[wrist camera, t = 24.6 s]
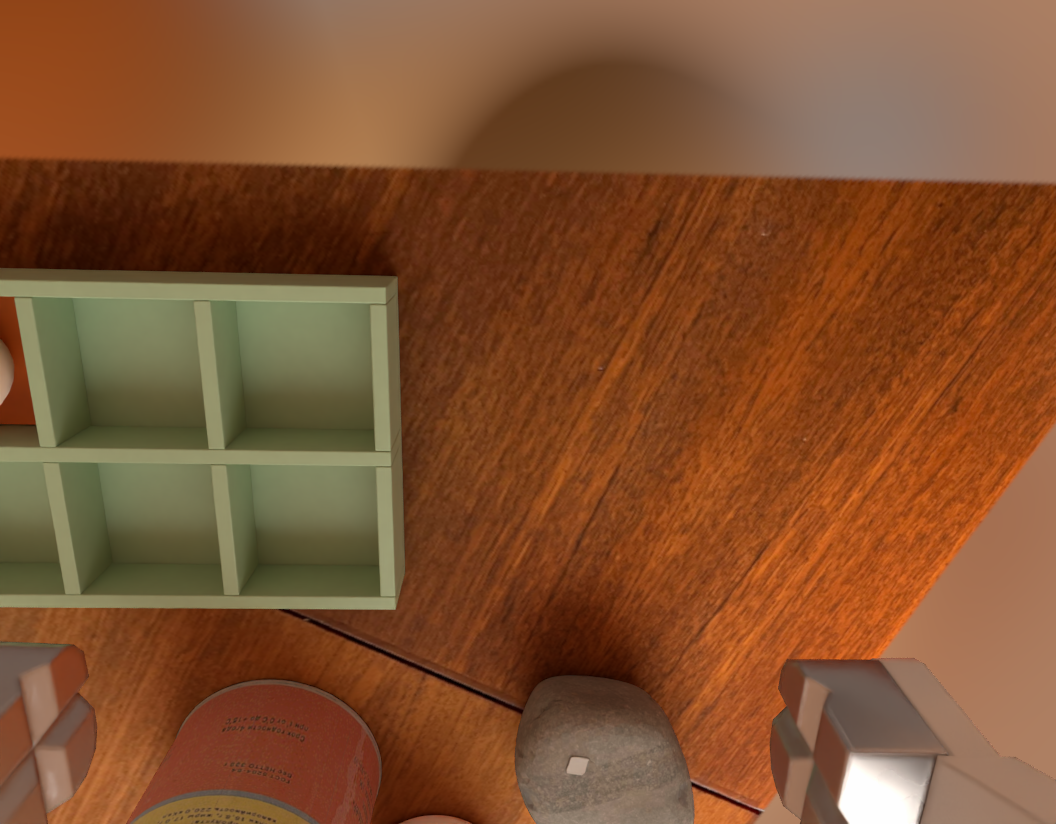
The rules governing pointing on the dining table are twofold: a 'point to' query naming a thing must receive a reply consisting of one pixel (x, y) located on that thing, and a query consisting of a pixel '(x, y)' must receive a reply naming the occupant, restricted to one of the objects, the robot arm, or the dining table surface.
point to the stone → (600, 756)
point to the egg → (5, 371)
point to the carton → (200, 440)
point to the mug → (435, 820)
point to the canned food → (266, 761)
